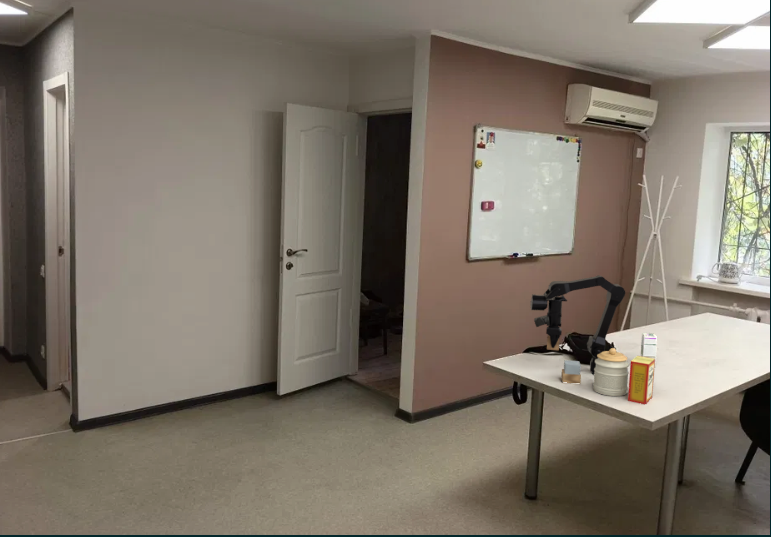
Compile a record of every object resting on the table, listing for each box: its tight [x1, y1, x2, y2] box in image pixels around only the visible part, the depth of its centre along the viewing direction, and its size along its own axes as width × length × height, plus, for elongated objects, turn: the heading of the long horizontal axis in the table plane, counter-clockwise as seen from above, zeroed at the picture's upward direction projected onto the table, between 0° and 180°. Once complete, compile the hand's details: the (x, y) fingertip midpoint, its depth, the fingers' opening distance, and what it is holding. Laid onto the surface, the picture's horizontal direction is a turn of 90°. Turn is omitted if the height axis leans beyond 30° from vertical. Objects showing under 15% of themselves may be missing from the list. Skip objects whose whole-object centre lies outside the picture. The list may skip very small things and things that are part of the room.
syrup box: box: [640, 332, 658, 368], centre depth 285 cm, size 6×6×14 cm
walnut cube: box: [546, 334, 560, 351], centre depth 276 cm, size 5×5×5 cm
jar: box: [592, 347, 630, 397], centre depth 251 cm, size 13×13×18 cm
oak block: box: [560, 368, 582, 384], centre depth 264 cm, size 7×7×4 cm
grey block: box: [563, 359, 582, 375], centre depth 264 cm, size 6×6×4 cm
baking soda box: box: [627, 355, 656, 405], centre depth 243 cm, size 10×6×16 cm
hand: (552, 345), depth 276 cm, fingers closed on walnut cube, 5 cm apart
